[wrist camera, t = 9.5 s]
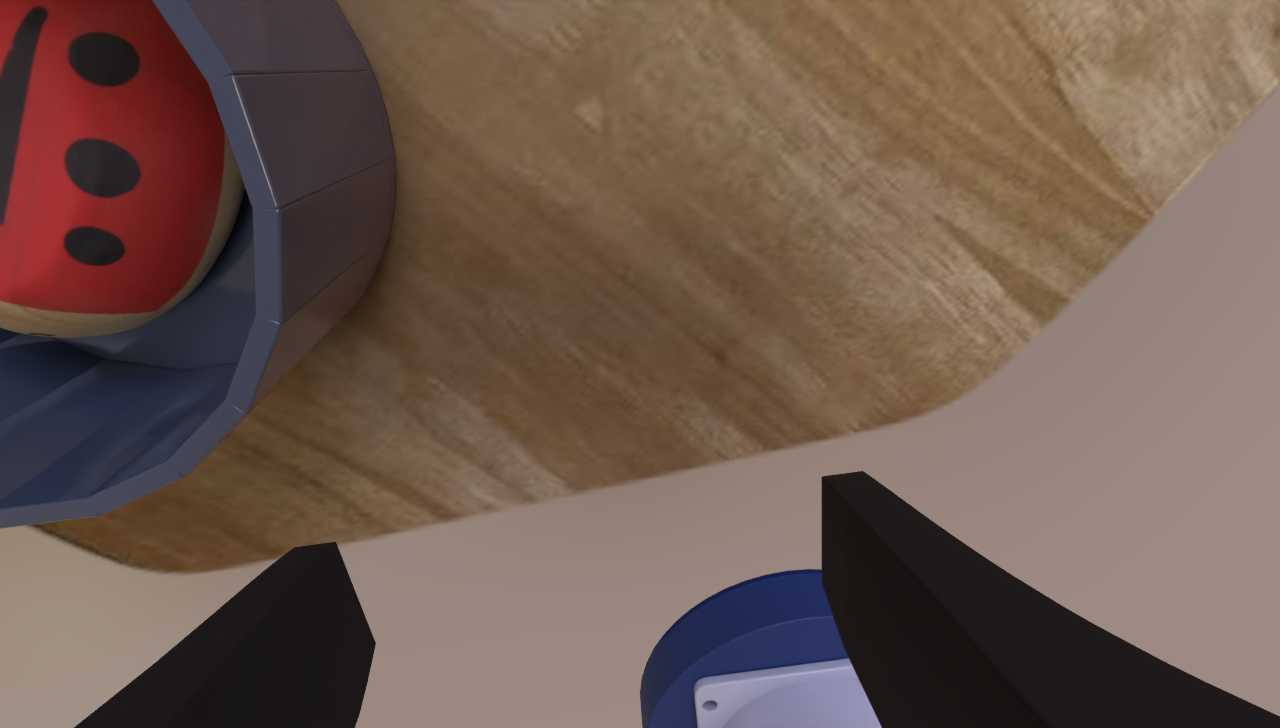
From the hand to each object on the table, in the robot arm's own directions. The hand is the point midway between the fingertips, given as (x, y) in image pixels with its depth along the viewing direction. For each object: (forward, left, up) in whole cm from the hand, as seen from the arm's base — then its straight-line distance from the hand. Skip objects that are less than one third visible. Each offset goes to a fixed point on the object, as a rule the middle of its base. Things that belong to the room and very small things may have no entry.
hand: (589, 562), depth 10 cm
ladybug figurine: (+6, +11, -10) cm, 16 cm away
